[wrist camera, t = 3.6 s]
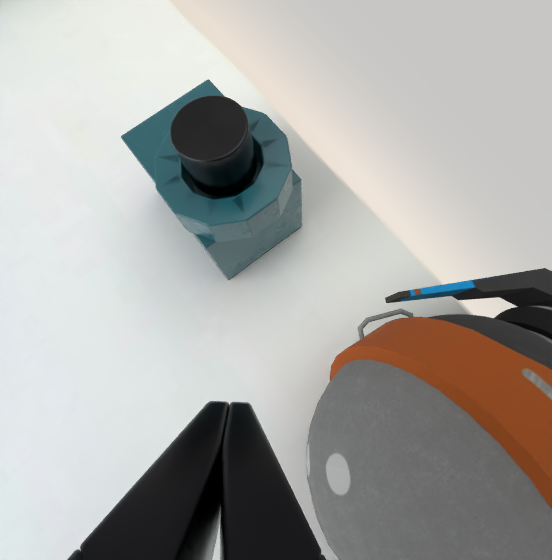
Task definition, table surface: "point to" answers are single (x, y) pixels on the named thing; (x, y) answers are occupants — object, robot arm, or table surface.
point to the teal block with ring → (224, 209)
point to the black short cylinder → (215, 144)
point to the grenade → (441, 431)
